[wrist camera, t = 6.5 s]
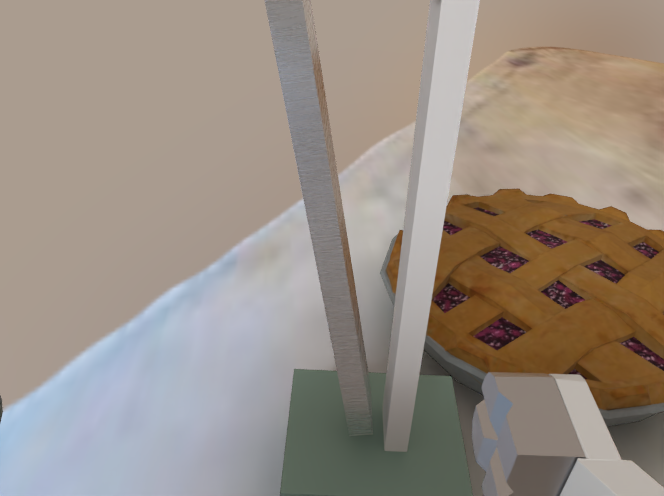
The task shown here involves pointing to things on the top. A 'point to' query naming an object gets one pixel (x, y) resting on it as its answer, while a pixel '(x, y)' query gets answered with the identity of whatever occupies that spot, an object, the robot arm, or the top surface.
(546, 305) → the pie
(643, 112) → the top surface
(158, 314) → the top surface
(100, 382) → the top surface
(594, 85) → the top surface
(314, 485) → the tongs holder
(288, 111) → the tongs arm
